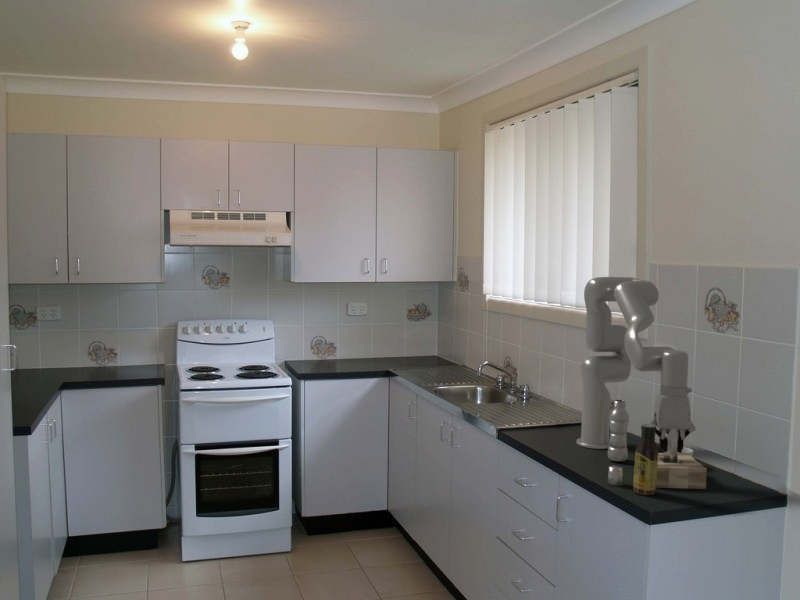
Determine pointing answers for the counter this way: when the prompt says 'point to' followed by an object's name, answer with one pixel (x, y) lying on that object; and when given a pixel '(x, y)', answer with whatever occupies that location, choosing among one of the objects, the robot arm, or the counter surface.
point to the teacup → (687, 451)
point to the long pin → (671, 446)
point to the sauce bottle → (646, 462)
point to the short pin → (615, 475)
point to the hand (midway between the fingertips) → (670, 450)
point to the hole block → (681, 473)
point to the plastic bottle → (618, 432)
